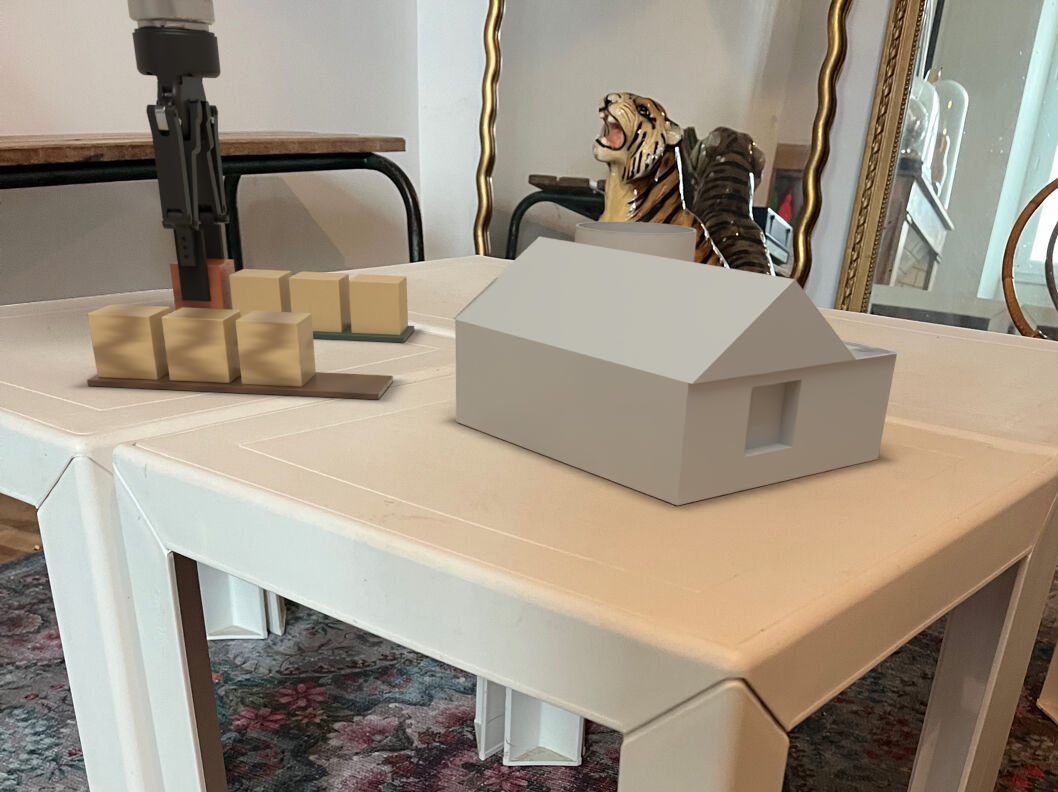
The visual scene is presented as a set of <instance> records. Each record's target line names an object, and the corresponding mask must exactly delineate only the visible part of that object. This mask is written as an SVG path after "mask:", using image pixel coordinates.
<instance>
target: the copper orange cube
mask: <svg viewBox="0 0 1058 792" xmlns="http://www.w3.org/2000/svg"><path fill="white" fill-rule="evenodd" d="M207 268H208V277H209V285H210V294H211V301H185V300H182V294H181V286H180V278H179V270H178V262H177V260H175V261H172V262H169V272H170V278H171V284H172V293H173V294H172V295H173V301H174V309H175V310H174V311H176V310H178V309H180V308H182V307H184V308H206V309H228V310H233V308H232V298H231V288H230V279H229V275H231V274H233V273H236V269H235V259H228V258H224V259H208V258H207Z"/></svg>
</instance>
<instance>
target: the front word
mask: <svg viewBox="0 0 1058 792" xmlns="http://www.w3.org/2000/svg"><path fill="white" fill-rule="evenodd" d="M87 321H88V325H89V331H90V337H91V343H92V350H93V355H94V362H95V363H94V364H95V369H96V375H94V376H91V377H90V378H88V379H87V380H86V382H87V386H88V387H99V388H101V387H102V388H125V389H145V390H164V391H165V390H167V391H191V392H209V393H210V392H211V393H227V394H229V393H231V394H251V395H271V396H272V395H273V396H293V397H294V396H295V397H313V398H315V397H317V398H334V399H335V398H337V399H338V398H340V399H358V400H379V399H381V398H382V396H383V394H384V393H385V392H386V391H387V389H388V388H389V387H390V386H391V385H392V383H393V382H394V375H388V374H387V375H385V374H384V375H383V374H362V373H342V372H322V371H321V372H320V371H319V372H318V371H316V359H315V344H314V343H315V341H314V338H313V328H312V314H311V313H295V312H273V311H251V312H250V313H248V314H246V315H244V316H243V317H241V311H240V310H228V309H206V308H184V307H182V308H180V309H178V310H174V311H172V312H171V306H160V305H142V304H141V305H140V304H118V303H111V304H109V305H105V306H103V307H101V308H99V309H95V310H93V311H91V312H88V313H87Z"/></svg>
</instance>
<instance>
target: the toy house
mask: <svg viewBox="0 0 1058 792" xmlns="http://www.w3.org/2000/svg"><path fill="white" fill-rule="evenodd" d="M452 320H454V321H455V323H454V325H455V329H454V330H455V331H454V332H455V333H454V335H455V422H456V423H458V424H461V425H464V426H467V427H469V428H472V429H474V430H477V431H479V432H482V433H485V434H487V435H490V436H492V437H495V438H498V439H500V440H504V441H506V442H508V443H511V444H513V445H514V444H515V445H516V446H519V447H521V448H524V449H527V450H529V451H532V452H535V453H537V454H540V455H543V456H546V457H548V458H551V459H554V460H556V461H558V462H562V463H563V464H566V465H569V466H572V467H573V468H577V469H579V470H582V471H585V472H587V473H590V474H592V475H595V476H598V477H601V478H603V479H607V480H609V481H611V482H613V483H617V484H620V485H622V486H624V487H628V488H630V489H633V490H636V491H638V492H640V493H643V494H646V495H648V496H651V497H654V498H656V499H659V500H662V501H664V502H666V503H669V504H672V505H675V506H681V505H685V504H691V503H694V502H698V501H702V500H703V501H704V500H707V499H711V498H716V497H720V496H724V495H728V494H732V493H737V492H741V491H746V490H751V489H755V488H759V487H764V486H769V485H772V484H777V483H780V482H784V481H789V480H794V479H798V478H802V477H806V476H811V475H815V474H819V473H824V472H828V471H833V470H836V469H841V468H845V467H850V466H855V465H858V464H863V463H867V462H870V461H875V460H879V455H880V451H881V445H882V439H883V434H884V429H885V428H884V427H885V423H886V416H887V411H888V406H889V400H890V394H891V389H892V384H893V378H894V374H895V373H894V372H895V367H896V362H897V361H896V360H897V356H898V354H904V353H905V351H901V350H896V349H892V348H887V347H882V346H877V345H872V344H867V343H863V342H858V341H853V340H848V339H844V338H841V337H840V336H839V335H838V333H837V332H836V331H835V330H834V328H833V327H832V326H831V324H830V323H829V322H828V320H827V319H826V318H825V317H824V315H823V314H822V312H821V311H820V310H819V309H818V307H817V306H816V305H815V303H814V302H813V301H812V300H811V298H810V297H809V296H808V294H807V293H806V292H805V290H804V289H803V288H802V287H801V285H800V283H798V281H797V280H796V279H795V278H789V277H783V276H777V275H771V274H765V273H759V272H754V271H753V272H752V271H748V270H742V269H736V268H730V267H724V266H718V265H711V264H705V263H702V262H701V263H700V262H695V261H694V262H689V261H683V260H677V259H671V258H665V257H659V256H653V255H647V254H641V253H635V252H629V251H623V250H617V249H611V248H605V247H599V246H593V245H587V244H581V243H575V241H570V240H562V239H556V238H551V237H545V236H538V237H537V238H536V239H535V240H534V241H533V242H531V244H530V245H529V246H527V248H526V249H524V250H523V252H521V254H519V255H518V256H517V257H516V258H515V259H514V260H513V261H512V262H510V263H509V265H508V266H507V267H506V268H505V269H503V270H502V272H500V273H499V274H498V275H497V276H496V277H495V278H494V279H493V280H492V281H491V282H490V283H489V284H488V285H487V286H485V288H483V290H482V291H480V292H479V293H478V294H476V296H475V297H473V299H472V300H471V301H470V302H468V304H467V305H466V306H464V308H462V309H461V311H459V312H458V313H457V314H456V315H455V316H454V317H453V318H452Z"/></svg>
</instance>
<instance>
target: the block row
mask: <svg viewBox="0 0 1058 792" xmlns="http://www.w3.org/2000/svg"><path fill="white" fill-rule="evenodd" d="M407 278H408V277H407V275H390V274H389V275H388V274H386V275H385V274H368V273H367V274H366V273H358V274H356V275H355V276H353V277H352V278H351V279H350V274H349V273H344V272H343V273H342V272H323V271H322V272H320V271H300V272H297V273H295V274H293V275H292V270H280V269H279V270H277V269H276V270H275V269H256V268H255V269H254V268H243V269H240V270H238V271H235V273H233V274H231V275H229V279H230V288H231V298H232V308H233V310H240V311H241V317H243V316H244V315H246V314H248V313H250V312H251V311H273V312H295V313H311V314H312V328H313V339H315V340H316V339H318V340H319V339H320V340H336V341H337V340H338V341H339V340H341V341H358V342H359V341H361V342H381V343H383V342H385V343H401V344H402V343H403V344H404V343H405V342H406V341H407V339H408V338H409V337H410V336H411V335H412V334H413V333H414V332H415V325H409V312H408V309H409V308H408V281H407Z"/></svg>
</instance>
